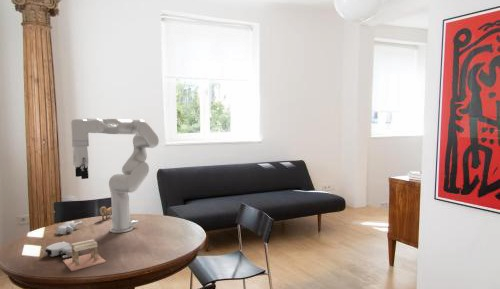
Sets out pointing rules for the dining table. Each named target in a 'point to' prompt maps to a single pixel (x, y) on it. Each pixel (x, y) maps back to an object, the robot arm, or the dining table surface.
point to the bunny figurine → (67, 227)
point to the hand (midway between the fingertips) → (82, 177)
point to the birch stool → (82, 246)
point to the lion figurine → (105, 212)
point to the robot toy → (59, 249)
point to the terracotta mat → (83, 262)
